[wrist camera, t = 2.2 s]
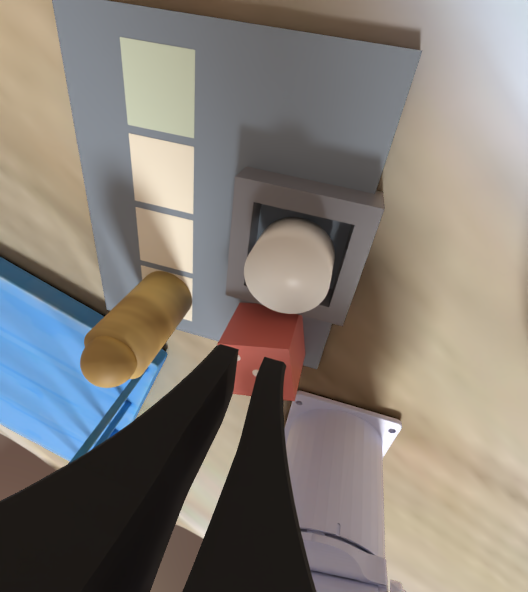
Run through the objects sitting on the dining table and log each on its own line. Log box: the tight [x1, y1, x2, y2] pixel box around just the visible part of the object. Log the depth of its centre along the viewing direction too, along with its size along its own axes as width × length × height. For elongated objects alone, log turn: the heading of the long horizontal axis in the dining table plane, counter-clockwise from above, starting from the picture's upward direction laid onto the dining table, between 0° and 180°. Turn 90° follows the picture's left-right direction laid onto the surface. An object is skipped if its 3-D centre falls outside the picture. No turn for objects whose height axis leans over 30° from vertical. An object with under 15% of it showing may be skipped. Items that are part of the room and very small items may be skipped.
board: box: [52, 0, 422, 369], centre depth 20 cm, size 18×16×1 cm
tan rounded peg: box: [80, 271, 192, 388], centre depth 20 cm, size 4×4×8 cm
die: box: [218, 303, 305, 401], centre depth 21 cm, size 4×4×4 cm
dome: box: [244, 217, 335, 314], centre depth 17 cm, size 4×4×2 cm
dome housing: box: [225, 166, 384, 326], centre depth 18 cm, size 7×7×2 cm
